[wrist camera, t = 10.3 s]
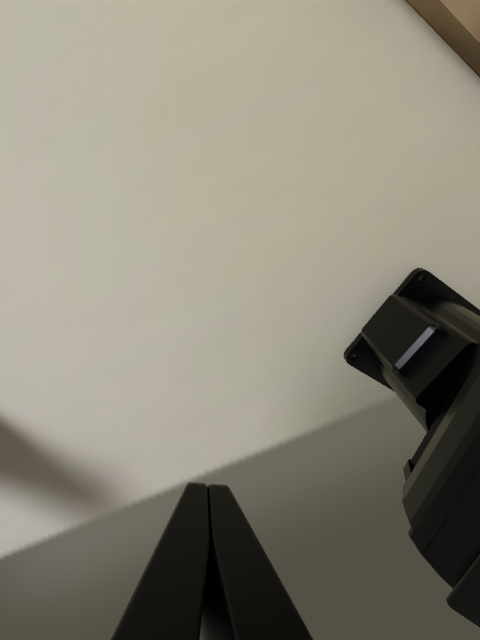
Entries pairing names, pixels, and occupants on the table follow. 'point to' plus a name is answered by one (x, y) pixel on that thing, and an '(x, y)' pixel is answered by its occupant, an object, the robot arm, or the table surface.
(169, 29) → the table surface
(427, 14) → the brown cutting board
